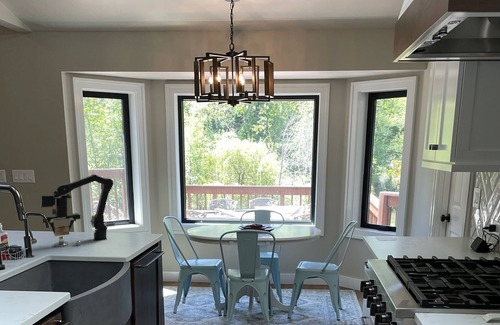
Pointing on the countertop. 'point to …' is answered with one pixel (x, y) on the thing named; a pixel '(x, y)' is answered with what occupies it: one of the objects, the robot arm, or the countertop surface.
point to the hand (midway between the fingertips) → (61, 232)
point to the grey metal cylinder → (77, 243)
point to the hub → (61, 242)
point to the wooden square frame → (61, 230)
